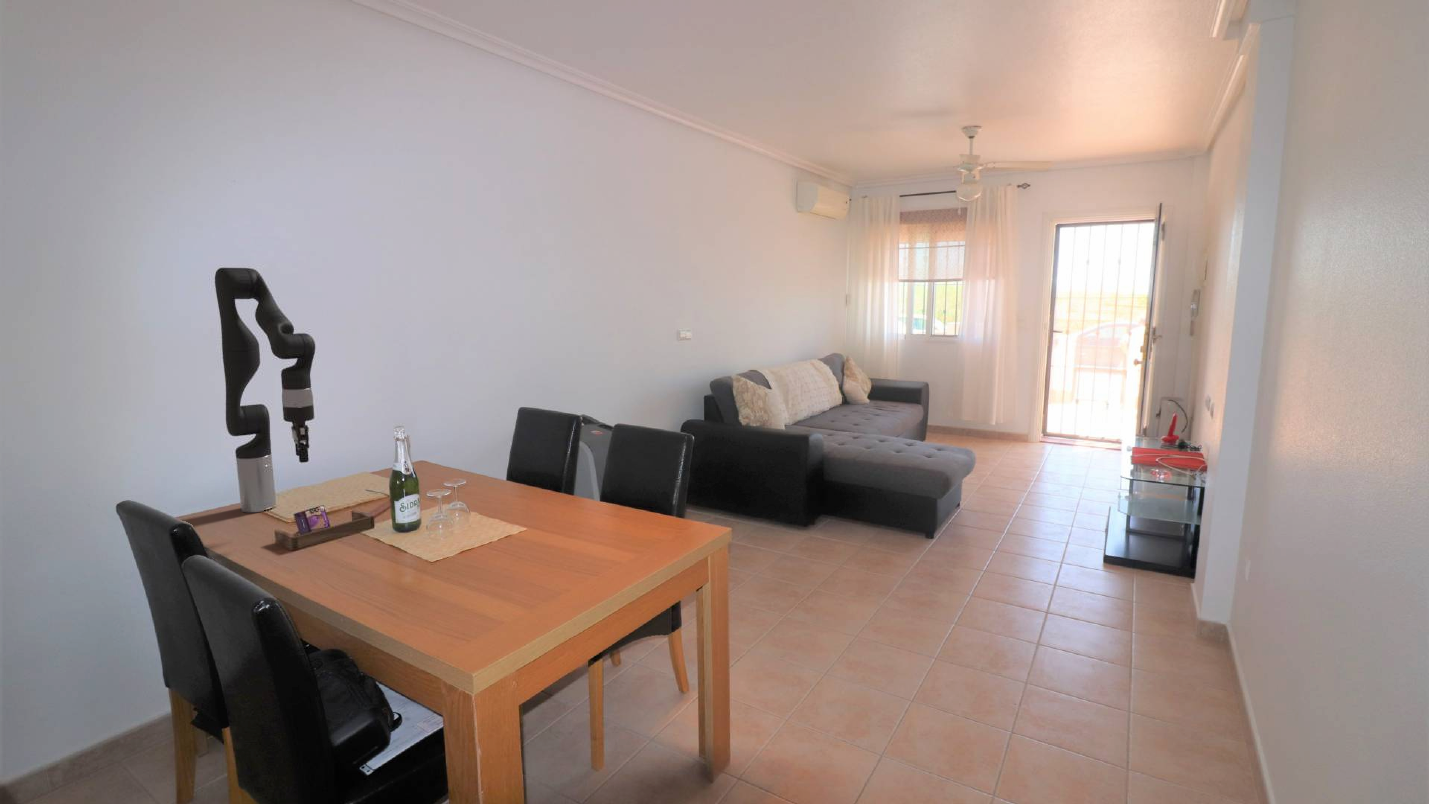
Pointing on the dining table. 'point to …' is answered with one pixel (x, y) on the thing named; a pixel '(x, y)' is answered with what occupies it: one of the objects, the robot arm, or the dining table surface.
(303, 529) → the purple printed carton
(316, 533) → the tray
